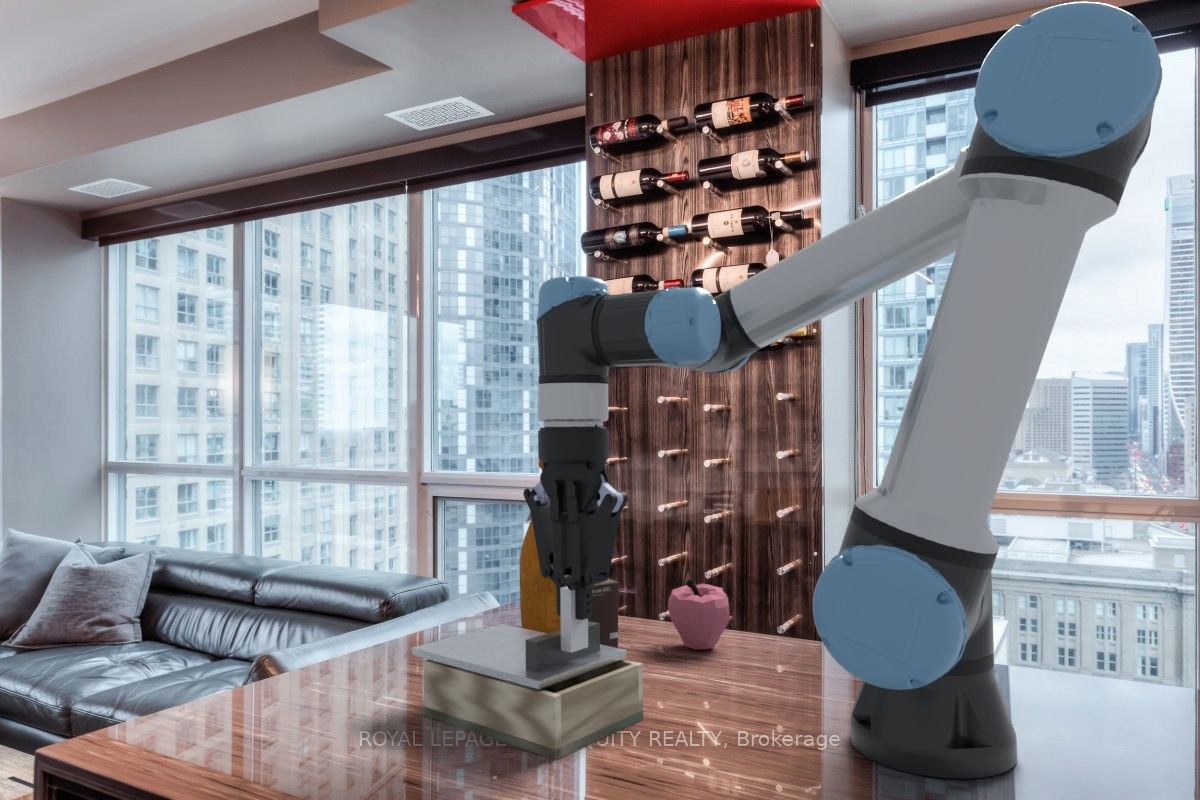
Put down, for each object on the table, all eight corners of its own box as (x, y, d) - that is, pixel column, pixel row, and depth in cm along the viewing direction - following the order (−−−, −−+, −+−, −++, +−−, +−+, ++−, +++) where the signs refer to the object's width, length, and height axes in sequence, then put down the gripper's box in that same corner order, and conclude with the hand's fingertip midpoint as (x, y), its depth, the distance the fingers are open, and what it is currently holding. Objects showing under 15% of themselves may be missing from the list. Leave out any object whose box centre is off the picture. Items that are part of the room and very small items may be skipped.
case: (643, 719, 90) (642, 663, 90) (555, 760, 79) (555, 696, 79) (514, 683, 102) (514, 635, 103) (424, 715, 92) (423, 660, 92)
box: (581, 682, 103) (580, 585, 103) (563, 674, 106) (562, 580, 107) (621, 674, 106) (620, 580, 106) (602, 666, 110) (601, 575, 110)
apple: (733, 657, 113) (731, 583, 114) (670, 656, 114) (668, 584, 114) (725, 638, 123) (724, 571, 123) (667, 639, 123) (666, 571, 124)
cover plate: (626, 657, 91) (626, 622, 91) (538, 689, 81) (538, 650, 81) (502, 630, 104) (501, 600, 104) (411, 654, 93) (411, 621, 93)
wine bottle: (557, 619, 136) (555, 438, 137) (595, 630, 129) (593, 438, 130) (507, 629, 130) (506, 439, 131) (544, 641, 122) (542, 439, 123)
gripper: (643, 424, 86) (645, 651, 86) (552, 424, 95) (553, 631, 94) (597, 424, 80) (599, 668, 80) (505, 425, 89) (505, 645, 88)
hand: (574, 648), depth 87 cm, fingers closed
